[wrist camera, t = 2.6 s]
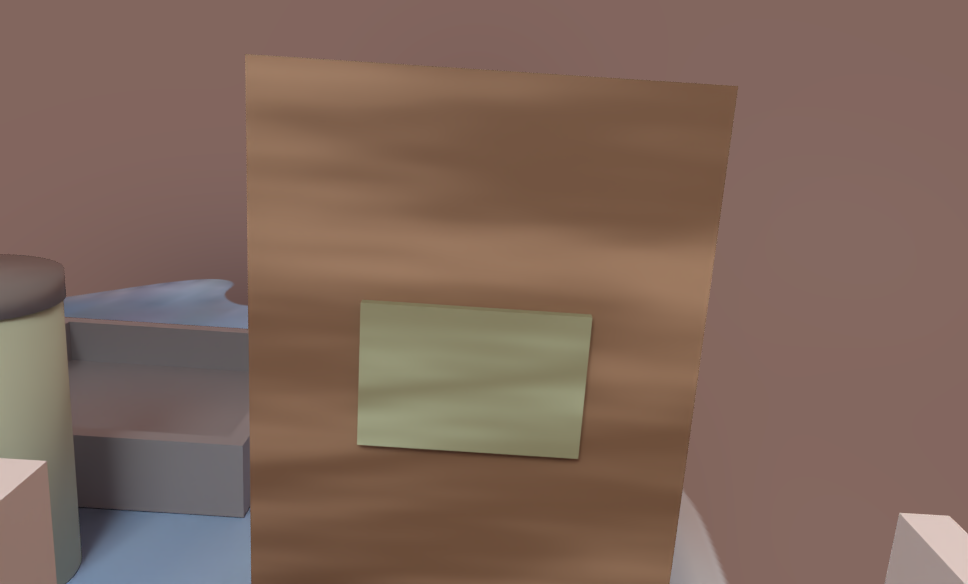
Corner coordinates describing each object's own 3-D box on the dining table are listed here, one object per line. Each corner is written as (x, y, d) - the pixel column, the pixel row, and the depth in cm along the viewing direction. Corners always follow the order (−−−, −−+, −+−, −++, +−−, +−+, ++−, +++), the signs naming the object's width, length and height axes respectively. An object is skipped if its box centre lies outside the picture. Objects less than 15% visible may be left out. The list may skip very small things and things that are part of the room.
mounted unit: (652, 793, 24) (753, 87, 19) (240, 767, 24) (229, 52, 19) (614, 618, 32) (679, 82, 27) (303, 598, 32) (307, 58, 27)
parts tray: (243, 517, 37) (242, 446, 36) (-113, 494, 37) (-123, 422, 36) (318, 386, 53) (318, 333, 52) (66, 369, 53) (62, 317, 52)
